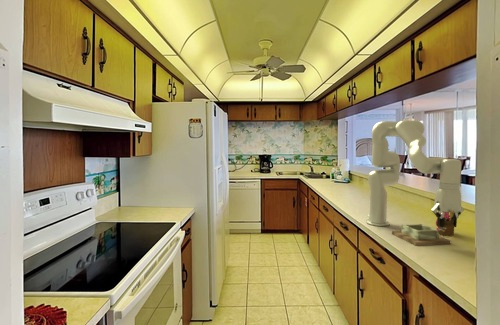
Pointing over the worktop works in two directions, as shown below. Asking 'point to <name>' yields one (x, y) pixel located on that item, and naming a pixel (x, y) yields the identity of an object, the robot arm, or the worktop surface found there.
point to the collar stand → (420, 235)
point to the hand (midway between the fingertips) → (446, 225)
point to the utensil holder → (447, 226)
